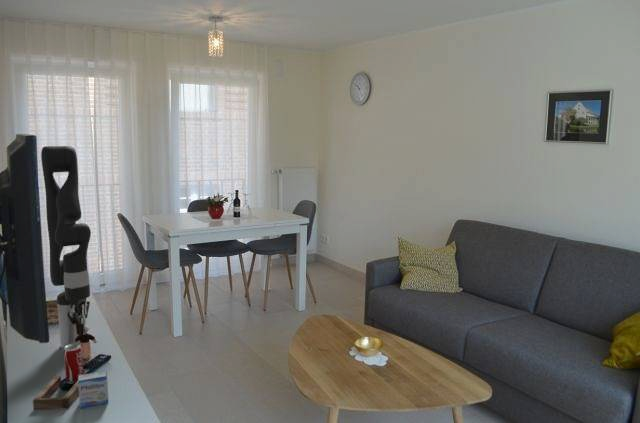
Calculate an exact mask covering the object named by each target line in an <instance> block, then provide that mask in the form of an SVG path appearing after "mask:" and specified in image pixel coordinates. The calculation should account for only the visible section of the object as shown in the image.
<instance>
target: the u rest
mask: <svg viewBox="0 0 640 423" xmlns="http://www.w3.org/2000/svg"><path fill="white" fill-rule="evenodd" d="M60 382H61V383H62V377H61V376H57V375H55V376H54V378H52V379H51V381H49V383H48V384H47V385H45V387H44V388H43V389H42V390H41V391H40V392H39V393H38V394H37V395H36V396H35V397H34V399H32V405H33V410H34V411H37V410H65V409H67V410H68V409H70V407H71V406H72V405H73V403H74V402H75V400H77V398H79V387H78V381H77V382H76V383H75V384H73V385H72V387H70V389H69V390H68V392H66V394H65V395H64V396H63V397H52V396H53V395H54V394H55V393H56V391H58V390H59V389H60V387H59V384H60Z"/></svg>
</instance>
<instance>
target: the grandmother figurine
mask: <svg viewBox="0 0 640 423" xmlns="http://www.w3.org/2000/svg"><path fill="white" fill-rule="evenodd" d="M89 330H90V327H89V326H88V325H87V324H86V325H85V333H84V334H82V335H78V336H77V337H76V339H75V341H74V344H77V342H78V341H80V343H79V344H80V347H81V349H82V361H83V360H84V359H85V361H86V360H91V359H92V356H91V355H92V354H91V353H92V350H91V349H92V348H91V342H90V340H91V341H92V342H93V344H97V341H98V340H96V337H95V336H94V335H92V334H90V333H88V332H89Z"/></svg>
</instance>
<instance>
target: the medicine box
mask: <svg viewBox="0 0 640 423" xmlns="http://www.w3.org/2000/svg"><path fill="white" fill-rule="evenodd" d="M108 383H109V382H108V372H107V370H104V371H98V372H93V373H92V372H91V373H87V374H84V375H79V376H78V387H79V396H78V398H79V400H78V401H79V408H80V409H85V408H89V407H95V406H100V405H104V404H108V403H109V388H108V386H109V384H108Z"/></svg>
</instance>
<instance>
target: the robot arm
mask: <svg viewBox="0 0 640 423" xmlns="http://www.w3.org/2000/svg"><path fill="white" fill-rule="evenodd" d="M40 153H41V154H40V159H41V166H42V168H41V169H42V174H43V181H44V189H45V190H44V191H45V206H46V208H45V209H46V223H47V224H46V225H47V232H48V240H49V242H48V243H49V278H50V281H51V283H52V285H53V286H55V287H61V286H63V287H64V291H61V293H59V294H58V295H57V296H56V304H57V315H58V316H57V317H58V327H59V340H60V347H61V349H62V350H65V346H67V345H69V344H74V341H75V339H76V337H77V336H78V335H82V334H84V333H85V325H87V318H88V314H89V310H90V309H89V308H90V304H91V303H90V301H87V298H89V297H90V296H91V288H90V286H91V285H90V274H89V271H88V258H87V257H88V255H87V254H88V249H89V245H90V244H89V243H90V239H91V236H92V235H91V234H92V232H91V228H90V226H89V225H88V224H86V223H84V222H81V223H77V222H78V221H80V220H81V218H82V210H81V204H80V197H79V168H78V155H77V152H76V149H75V148H74V147H73V146H71V145H58V146H57V145H50V146H49V145H48V146H43V147H42V149H41V151H40ZM54 173H68V174H67V177H66V180H65V181H64V184H62V186H61V187H60V186H59V185H58V182H57V181H56V179H55V176H54ZM72 246H78V248H77V249H75V250H73V251H70V252H67V253H65V254H64V255H63V256H62V260H61V255H62V252H63V249H64V247H72ZM79 343H80V341H78V342H77V344H79Z"/></svg>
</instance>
